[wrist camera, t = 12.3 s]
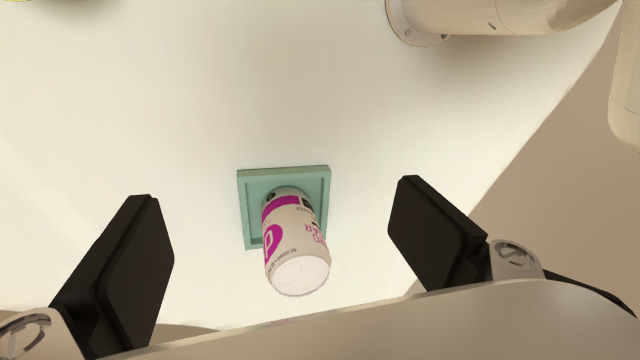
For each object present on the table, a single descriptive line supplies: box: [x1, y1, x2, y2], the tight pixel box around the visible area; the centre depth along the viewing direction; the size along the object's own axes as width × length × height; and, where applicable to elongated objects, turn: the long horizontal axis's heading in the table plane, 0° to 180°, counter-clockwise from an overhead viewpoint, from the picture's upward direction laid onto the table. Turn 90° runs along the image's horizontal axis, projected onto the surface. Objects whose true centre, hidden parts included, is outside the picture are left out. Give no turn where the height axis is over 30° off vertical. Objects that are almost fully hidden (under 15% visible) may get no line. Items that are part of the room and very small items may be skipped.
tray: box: [237, 165, 331, 250], centre depth 43 cm, size 14×14×2 cm
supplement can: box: [261, 187, 331, 297], centre depth 37 cm, size 8×8×15 cm
